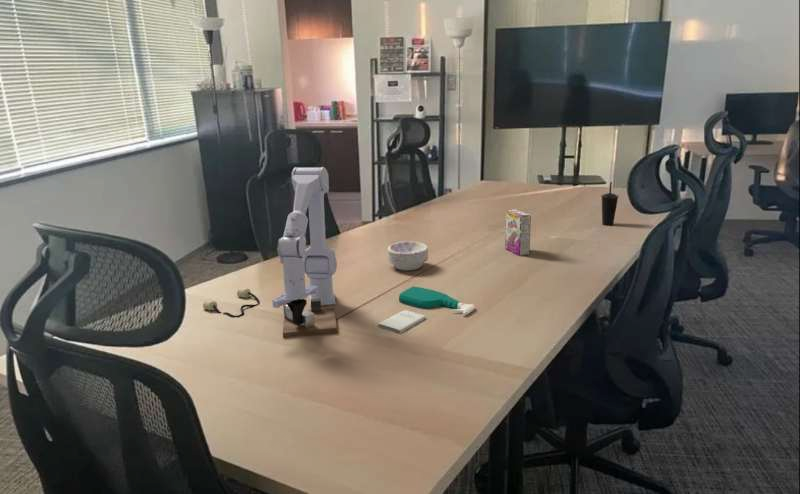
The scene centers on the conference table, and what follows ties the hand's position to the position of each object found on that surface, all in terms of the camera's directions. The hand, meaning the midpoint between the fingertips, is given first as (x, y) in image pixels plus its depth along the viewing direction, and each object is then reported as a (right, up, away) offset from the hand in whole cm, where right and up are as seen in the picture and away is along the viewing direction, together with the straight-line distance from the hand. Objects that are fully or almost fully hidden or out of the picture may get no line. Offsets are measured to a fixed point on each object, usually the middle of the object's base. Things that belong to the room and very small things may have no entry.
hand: (298, 323), depth 159 cm
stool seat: (+3, -1, +5) cm, 6 cm away
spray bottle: (+41, +3, +17) cm, 44 cm away
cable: (-23, +2, +22) cm, 32 cm away
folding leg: (-1, 0, +4) cm, 4 cm away
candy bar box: (+76, +20, +68) cm, 104 cm away
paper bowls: (+32, +14, +54) cm, 64 cm away
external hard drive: (+30, -1, +5) cm, 30 cm away
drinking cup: (+127, +32, +105) cm, 168 cm away
